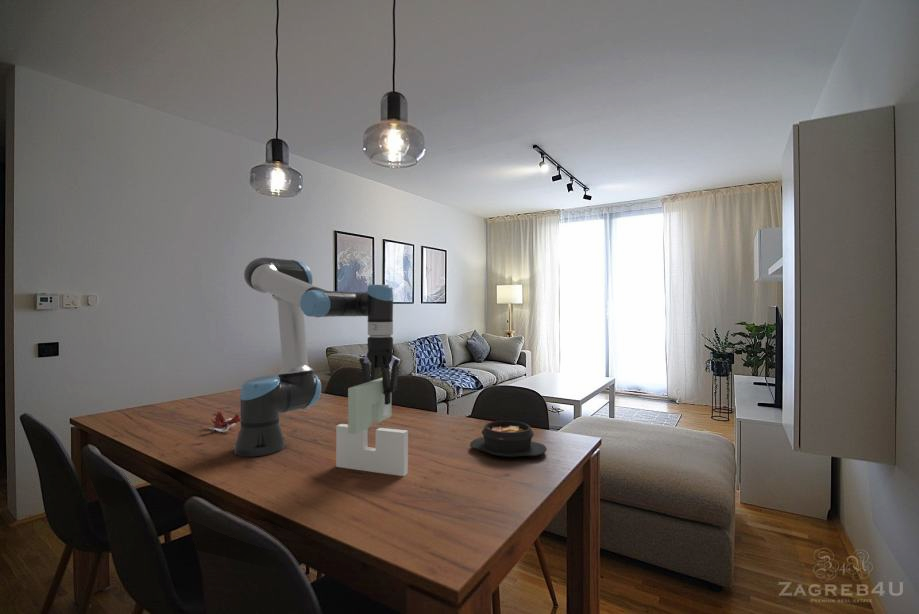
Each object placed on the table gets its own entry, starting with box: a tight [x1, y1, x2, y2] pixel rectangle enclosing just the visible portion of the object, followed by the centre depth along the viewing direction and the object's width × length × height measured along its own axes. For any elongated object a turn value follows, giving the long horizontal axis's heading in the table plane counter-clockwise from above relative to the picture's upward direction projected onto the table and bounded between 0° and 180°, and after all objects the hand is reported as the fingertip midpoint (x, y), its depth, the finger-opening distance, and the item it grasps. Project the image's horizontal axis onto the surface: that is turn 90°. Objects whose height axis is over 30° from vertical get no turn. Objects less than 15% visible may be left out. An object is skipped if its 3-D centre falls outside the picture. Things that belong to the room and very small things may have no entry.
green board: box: [347, 376, 393, 434], centre depth 121 cm, size 20×2×12 cm, turn 162°
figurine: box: [207, 410, 241, 433], centre depth 160 cm, size 15×12×7 cm
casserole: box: [469, 420, 547, 458], centre depth 137 cm, size 25×19×8 cm
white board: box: [335, 423, 409, 477], centre depth 121 cm, size 22×2×12 cm, turn 72°
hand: (380, 414), depth 126 cm, fingers closed on green board, 2 cm apart
